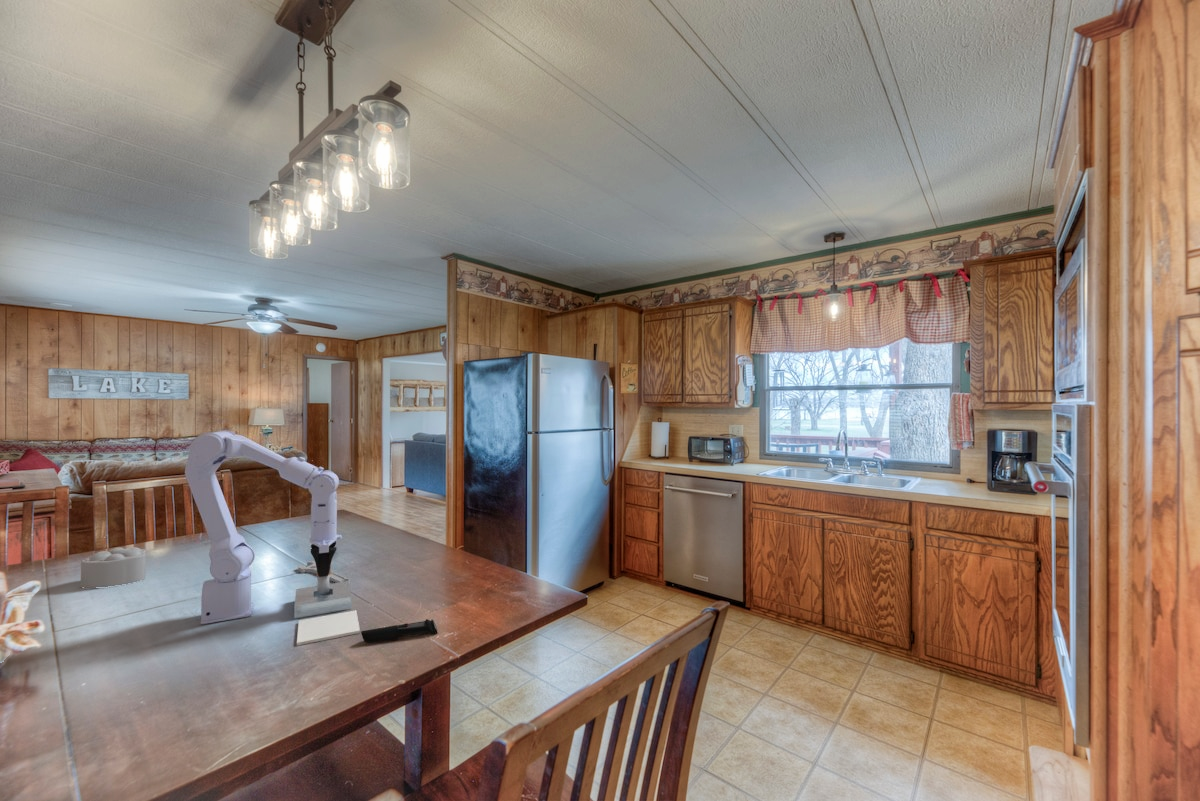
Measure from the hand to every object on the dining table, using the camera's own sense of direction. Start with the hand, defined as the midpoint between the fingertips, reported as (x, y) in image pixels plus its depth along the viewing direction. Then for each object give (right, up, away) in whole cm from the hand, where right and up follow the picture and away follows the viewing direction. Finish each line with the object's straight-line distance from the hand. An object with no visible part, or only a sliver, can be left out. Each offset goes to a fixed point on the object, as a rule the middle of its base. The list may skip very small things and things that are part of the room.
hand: (323, 573), depth 126 cm
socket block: (0, -8, 0) cm, 8 cm away
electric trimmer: (+26, -9, -16) cm, 32 cm away
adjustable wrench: (-12, -8, +20) cm, 25 cm away
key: (0, -5, 0) cm, 5 cm away
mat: (+8, -8, -13) cm, 17 cm away
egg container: (-67, -7, +14) cm, 68 cm away
